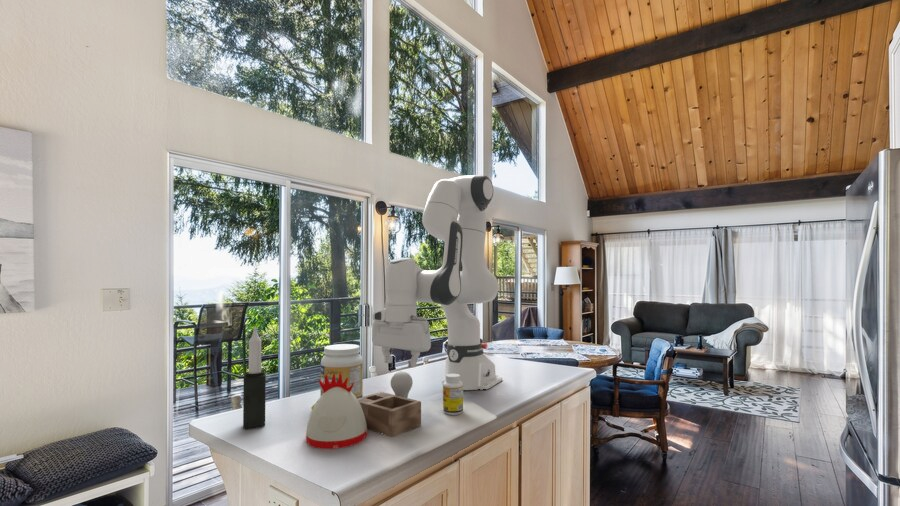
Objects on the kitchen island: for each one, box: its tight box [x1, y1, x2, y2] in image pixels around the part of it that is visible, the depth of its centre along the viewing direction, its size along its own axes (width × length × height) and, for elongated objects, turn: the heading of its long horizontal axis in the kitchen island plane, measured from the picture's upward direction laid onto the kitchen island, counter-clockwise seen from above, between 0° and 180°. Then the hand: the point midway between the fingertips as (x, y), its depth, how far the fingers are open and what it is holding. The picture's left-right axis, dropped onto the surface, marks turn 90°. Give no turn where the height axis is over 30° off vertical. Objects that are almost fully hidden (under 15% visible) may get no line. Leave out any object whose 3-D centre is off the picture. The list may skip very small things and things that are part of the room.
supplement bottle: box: [442, 374, 464, 416], centre depth 122 cm, size 6×6×10 cm
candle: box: [242, 326, 267, 430], centre depth 113 cm, size 5×5×25 cm
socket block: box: [357, 391, 422, 438], centre depth 112 cm, size 10×15×6 cm, turn 51°
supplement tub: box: [320, 343, 364, 398], centre depth 130 cm, size 12×12×17 cm
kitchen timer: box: [305, 373, 368, 450], centre depth 104 cm, size 14×14×15 cm
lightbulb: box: [390, 370, 414, 398], centre depth 123 cm, size 6×6×11 cm
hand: (400, 364), depth 123 cm, fingers open, 8 cm apart
